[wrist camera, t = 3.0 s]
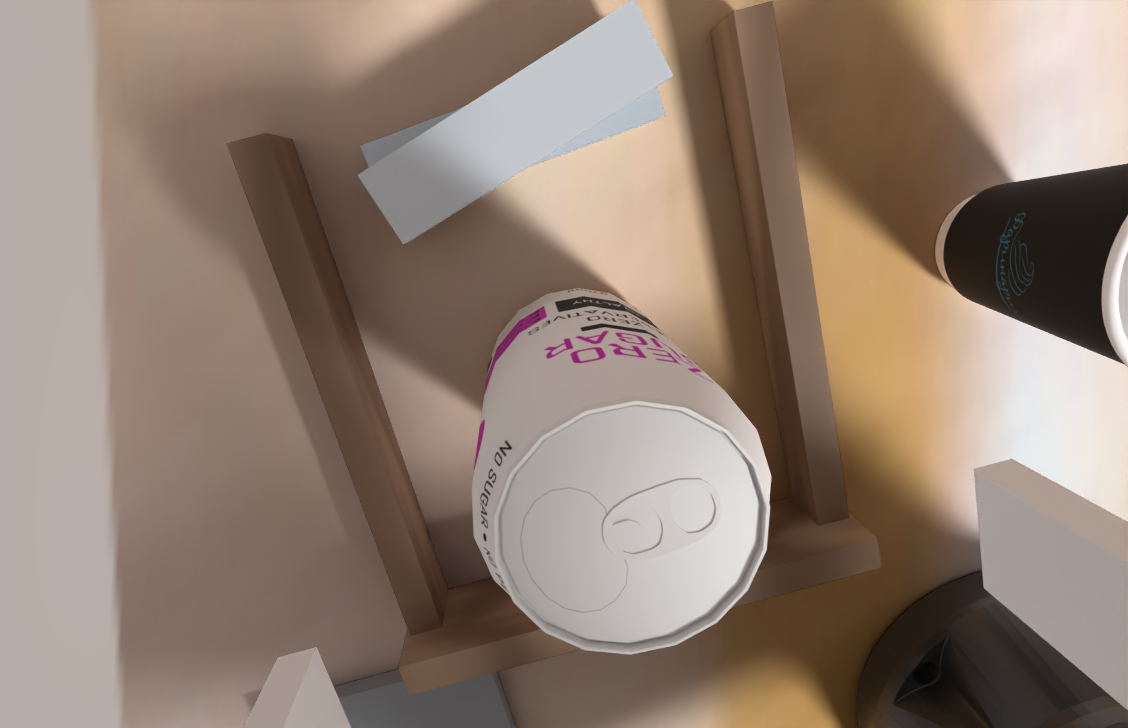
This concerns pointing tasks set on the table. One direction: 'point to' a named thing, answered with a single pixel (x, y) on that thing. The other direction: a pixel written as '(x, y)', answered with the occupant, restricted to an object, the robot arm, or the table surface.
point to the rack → (792, 340)
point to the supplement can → (614, 478)
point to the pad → (425, 703)
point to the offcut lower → (619, 122)
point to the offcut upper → (517, 123)
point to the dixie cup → (1047, 255)
